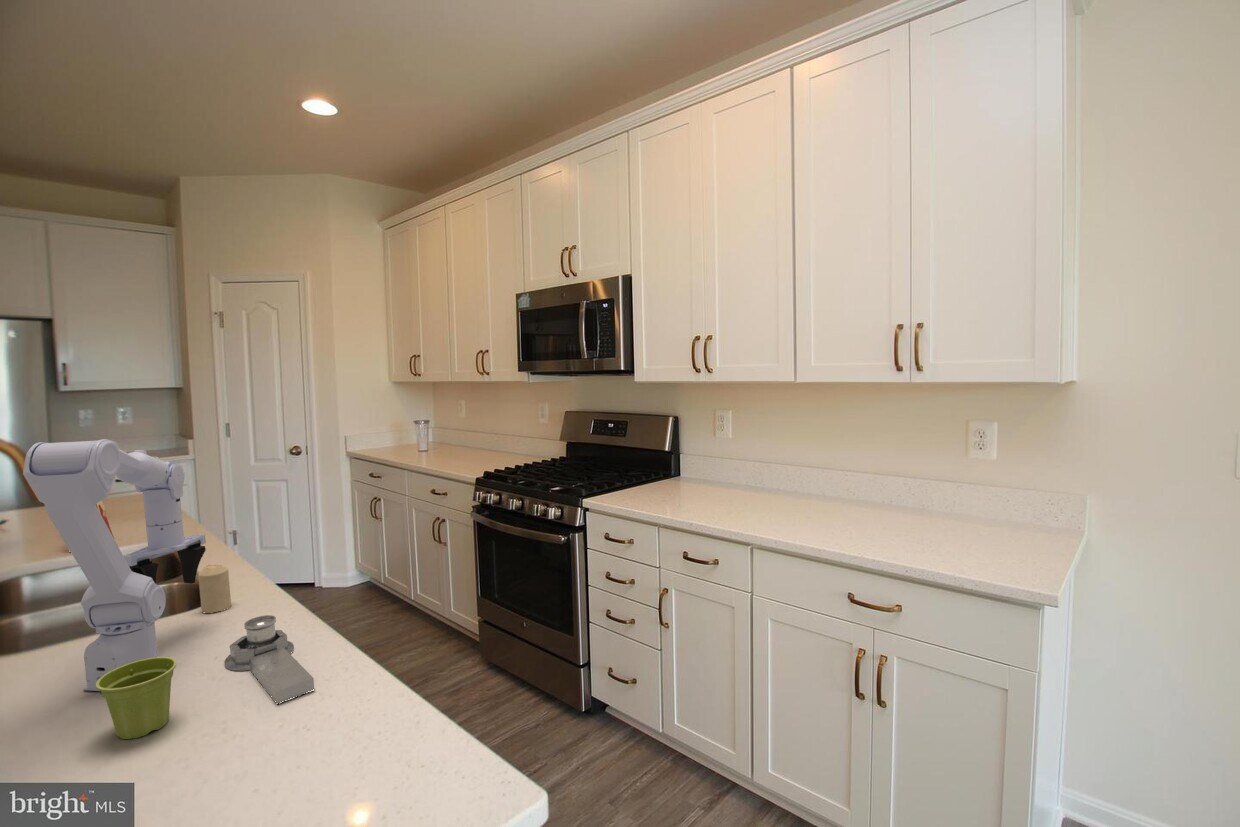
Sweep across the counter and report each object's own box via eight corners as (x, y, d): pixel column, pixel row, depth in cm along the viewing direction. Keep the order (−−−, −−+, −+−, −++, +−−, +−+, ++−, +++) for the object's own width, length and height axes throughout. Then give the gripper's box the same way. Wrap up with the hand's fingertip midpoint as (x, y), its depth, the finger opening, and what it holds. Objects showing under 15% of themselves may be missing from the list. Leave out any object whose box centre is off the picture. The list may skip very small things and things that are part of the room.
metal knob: (245, 661, 109) (242, 629, 108) (248, 649, 113) (246, 618, 113) (277, 654, 111) (274, 623, 110) (279, 643, 115) (276, 613, 115)
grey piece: (332, 684, 101) (330, 667, 101) (257, 712, 93) (256, 693, 93) (283, 636, 119) (282, 622, 119) (218, 657, 112) (216, 641, 111)
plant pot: (87, 753, 84) (80, 694, 83) (122, 715, 93) (116, 662, 93) (165, 740, 87) (159, 682, 86) (192, 705, 96) (187, 652, 95)
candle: (237, 604, 137) (233, 561, 136) (218, 614, 131) (214, 569, 131) (214, 603, 137) (210, 561, 137) (195, 613, 132) (191, 569, 131)
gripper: (140, 533, 110) (147, 605, 111) (214, 514, 124) (220, 578, 125) (112, 531, 112) (120, 602, 113) (188, 512, 126) (194, 575, 127)
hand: (170, 589), depth 119 cm, fingers open, 7 cm apart
